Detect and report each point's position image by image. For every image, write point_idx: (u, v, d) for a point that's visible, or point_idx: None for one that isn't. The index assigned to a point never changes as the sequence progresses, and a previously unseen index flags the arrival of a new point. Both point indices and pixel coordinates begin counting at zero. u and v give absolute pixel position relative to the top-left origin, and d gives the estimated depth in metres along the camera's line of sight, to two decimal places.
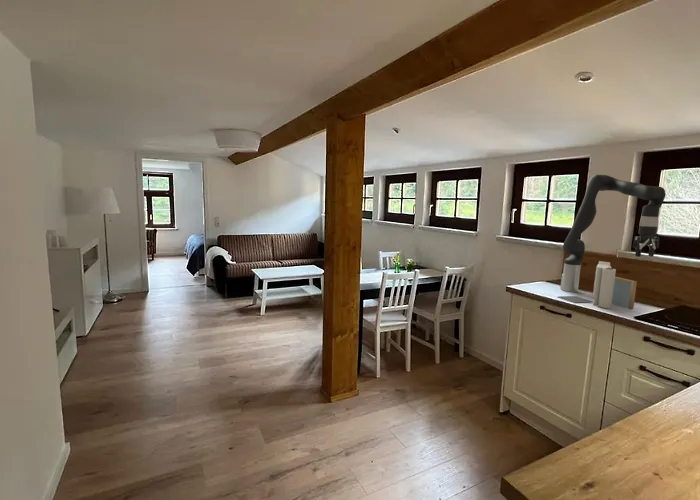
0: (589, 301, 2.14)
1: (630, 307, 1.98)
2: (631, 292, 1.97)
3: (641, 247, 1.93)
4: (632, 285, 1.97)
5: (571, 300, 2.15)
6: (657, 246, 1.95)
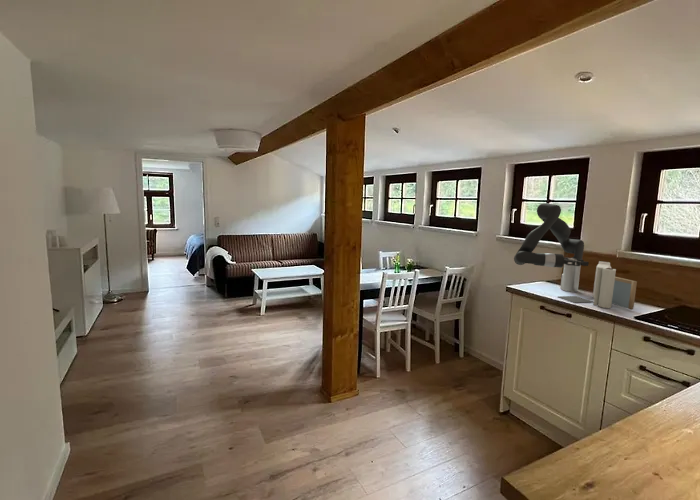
0: (589, 301, 2.14)
1: (630, 307, 1.98)
2: (631, 292, 1.97)
3: None
4: (632, 285, 1.97)
5: (571, 300, 2.15)
6: None
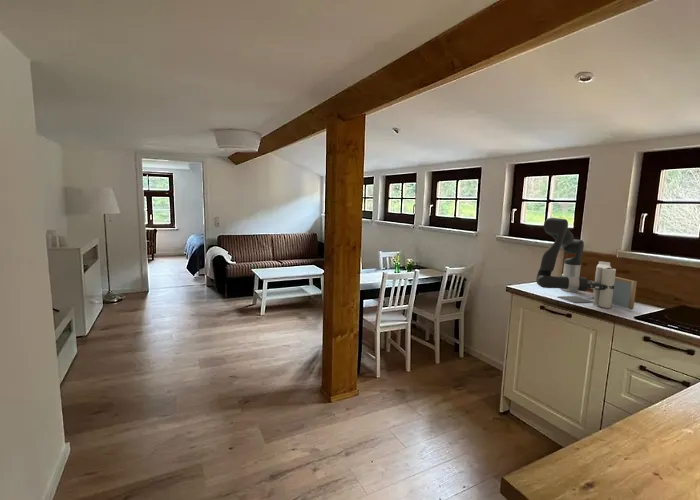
0: (589, 301, 2.14)
1: (630, 307, 1.98)
2: (631, 292, 1.97)
3: None
4: (632, 285, 1.97)
5: (571, 300, 2.15)
6: None
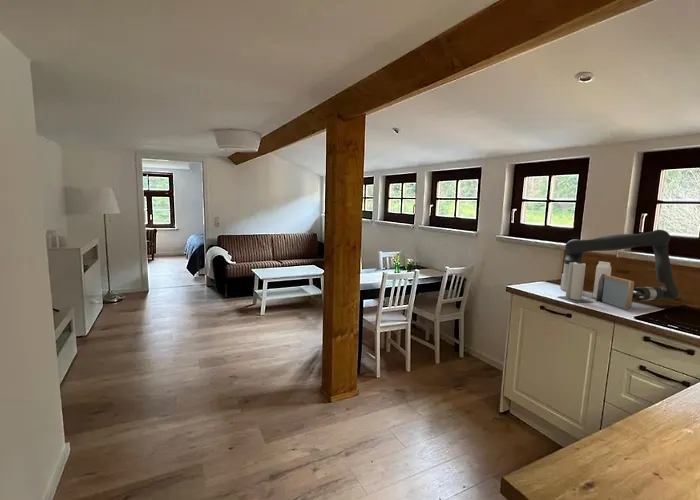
0: (589, 301, 2.14)
1: (627, 307, 1.98)
2: (628, 292, 1.97)
3: None
4: (629, 285, 1.97)
5: (571, 300, 2.15)
6: None
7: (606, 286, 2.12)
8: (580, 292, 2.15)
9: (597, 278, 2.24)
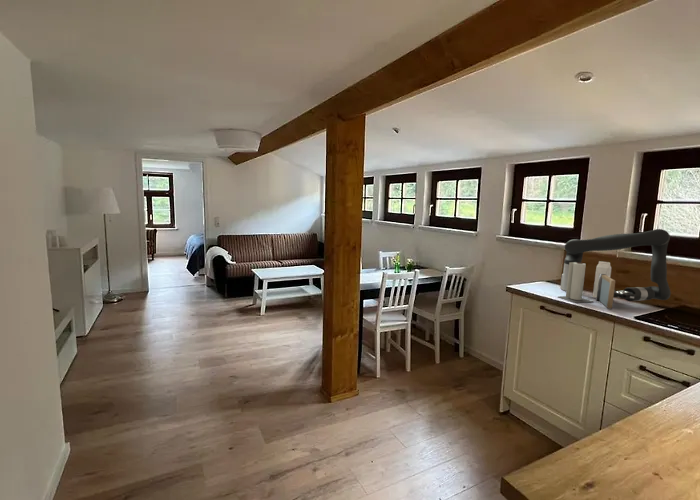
0: (589, 301, 2.14)
1: (607, 306, 1.99)
2: (609, 291, 1.98)
3: None
4: (610, 284, 1.98)
5: (571, 300, 2.15)
6: None
7: (602, 285, 2.12)
8: (580, 292, 2.15)
9: (597, 278, 2.24)
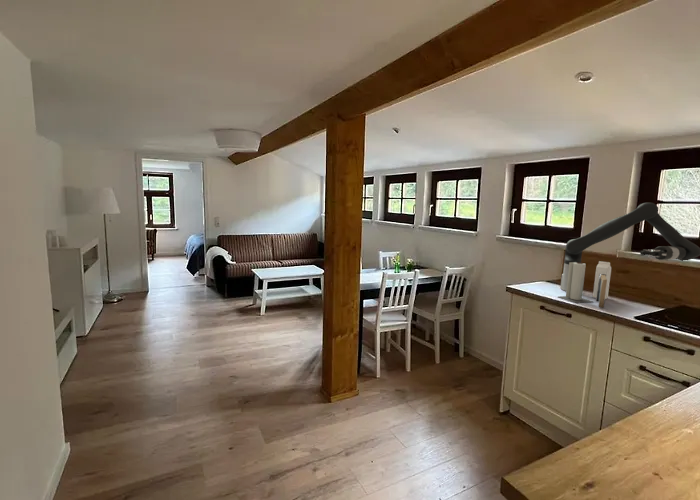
0: (589, 301, 2.14)
1: (599, 305, 2.01)
2: (600, 290, 2.00)
3: None
4: (601, 283, 2.00)
5: (571, 300, 2.15)
6: None
7: (600, 285, 2.13)
8: (580, 292, 2.15)
9: (597, 278, 2.24)
